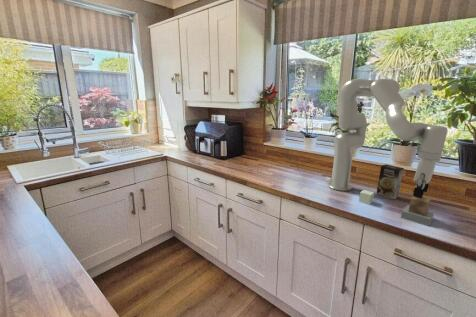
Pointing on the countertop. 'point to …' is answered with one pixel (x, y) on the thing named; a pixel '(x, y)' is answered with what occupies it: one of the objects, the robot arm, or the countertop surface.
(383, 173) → the coffee box
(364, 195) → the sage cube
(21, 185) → the countertop surface
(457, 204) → the countertop surface
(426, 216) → the plinth
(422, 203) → the walnut block
